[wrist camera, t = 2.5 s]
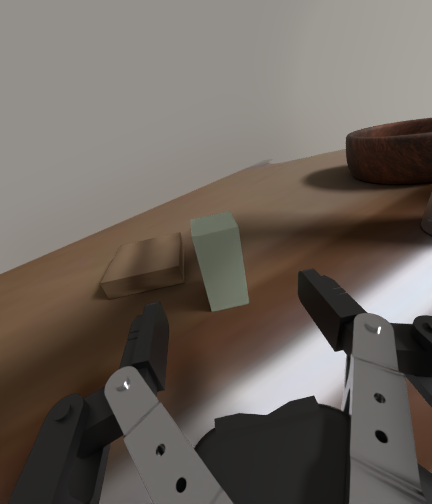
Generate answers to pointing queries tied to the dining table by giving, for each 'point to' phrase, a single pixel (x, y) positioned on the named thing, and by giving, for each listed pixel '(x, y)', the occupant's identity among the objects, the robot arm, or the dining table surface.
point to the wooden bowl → (392, 153)
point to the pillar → (220, 260)
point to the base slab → (145, 266)
